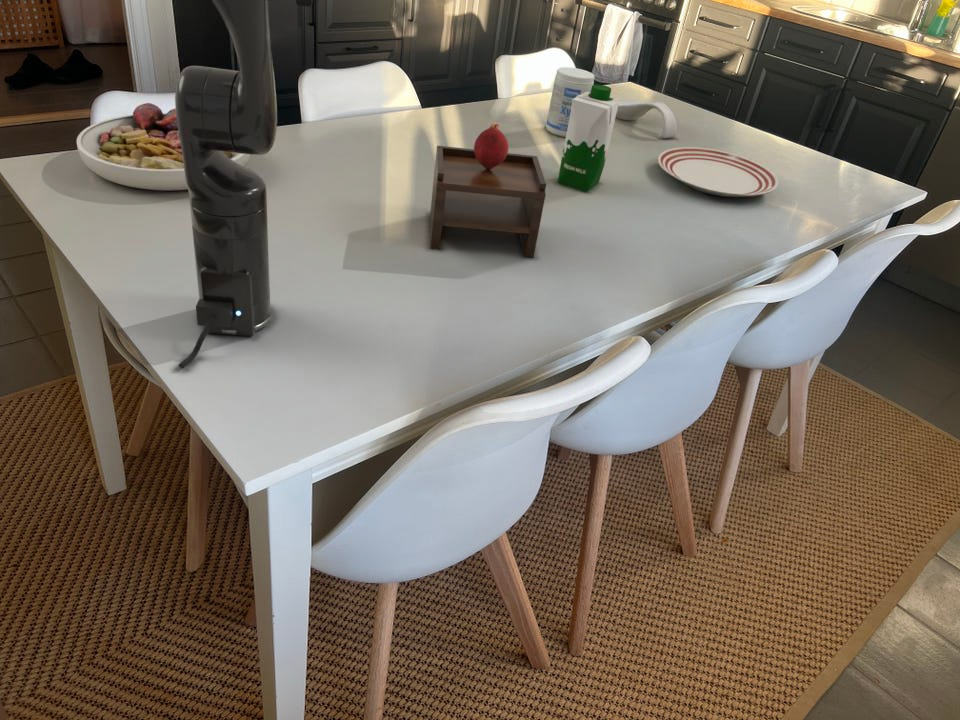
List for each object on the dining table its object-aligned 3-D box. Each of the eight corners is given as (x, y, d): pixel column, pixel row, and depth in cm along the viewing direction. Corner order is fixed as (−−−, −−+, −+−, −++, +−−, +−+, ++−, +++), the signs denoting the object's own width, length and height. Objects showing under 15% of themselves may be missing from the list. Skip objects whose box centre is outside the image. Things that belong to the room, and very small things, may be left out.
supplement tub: (558, 139, 185) (569, 78, 177) (538, 126, 192) (548, 66, 184) (590, 137, 190) (603, 77, 181) (569, 124, 196) (581, 66, 188)
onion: (501, 178, 127) (508, 131, 123) (468, 171, 128) (474, 125, 123) (507, 167, 132) (514, 121, 127) (475, 160, 132) (481, 115, 128)
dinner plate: (728, 215, 159) (733, 200, 157) (631, 168, 175) (634, 154, 173) (796, 194, 175) (801, 181, 173) (701, 153, 191) (705, 140, 189)
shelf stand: (533, 258, 131) (547, 186, 124) (430, 248, 129) (437, 175, 122) (525, 223, 143) (537, 155, 135) (430, 214, 140) (436, 145, 133)
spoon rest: (594, 111, 209) (600, 84, 205) (625, 108, 215) (631, 83, 211) (654, 141, 194) (661, 113, 190) (685, 137, 200) (693, 110, 196)
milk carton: (603, 183, 165) (625, 90, 154) (589, 195, 158) (611, 99, 147) (567, 172, 168) (586, 80, 156) (551, 183, 161) (569, 88, 150)
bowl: (277, 185, 142) (276, 144, 138) (107, 208, 126) (99, 162, 121) (218, 131, 161) (215, 94, 156) (63, 145, 144) (55, 104, 140)
